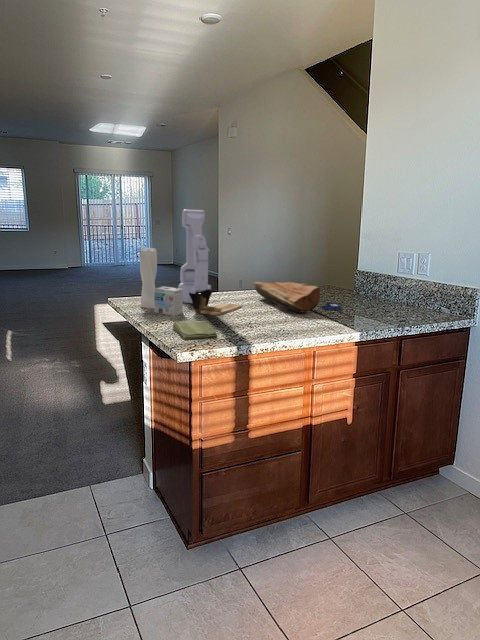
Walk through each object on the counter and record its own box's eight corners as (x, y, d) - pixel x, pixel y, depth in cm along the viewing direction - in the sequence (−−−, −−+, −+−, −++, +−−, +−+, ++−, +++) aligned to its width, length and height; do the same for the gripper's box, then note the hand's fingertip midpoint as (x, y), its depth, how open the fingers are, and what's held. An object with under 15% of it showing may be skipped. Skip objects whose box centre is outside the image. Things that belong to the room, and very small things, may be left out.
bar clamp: (317, 301, 230) (336, 301, 232) (316, 306, 231) (335, 306, 233) (344, 318, 200) (366, 318, 202) (343, 323, 200) (365, 323, 202)
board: (200, 313, 203) (200, 310, 203) (224, 305, 224) (224, 302, 223) (218, 315, 200) (219, 313, 199) (241, 307, 220) (241, 305, 220)
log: (320, 313, 209) (322, 280, 208) (284, 311, 203) (286, 277, 203) (282, 310, 249) (284, 282, 249) (251, 308, 244) (253, 279, 243)
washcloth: (183, 341, 160) (183, 332, 159) (171, 329, 175) (171, 320, 175) (219, 339, 164) (219, 330, 164) (204, 327, 180) (204, 319, 180)
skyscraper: (136, 307, 210) (135, 244, 204) (144, 304, 217) (144, 243, 211) (152, 309, 208) (152, 245, 202) (159, 306, 215) (159, 244, 209)
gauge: (195, 311, 206) (195, 296, 205) (199, 310, 210) (200, 295, 208) (218, 315, 201) (219, 299, 200) (222, 313, 205) (223, 298, 203)
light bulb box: (153, 312, 201) (153, 287, 198) (163, 310, 207) (163, 286, 204) (174, 316, 196) (174, 290, 194) (183, 313, 202) (183, 288, 199)
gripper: (201, 279, 196) (200, 311, 199) (217, 276, 209) (216, 306, 212) (186, 277, 199) (186, 309, 202) (203, 274, 211) (202, 304, 214)
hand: (200, 307), depth 207 cm, fingers open, 7 cm apart
